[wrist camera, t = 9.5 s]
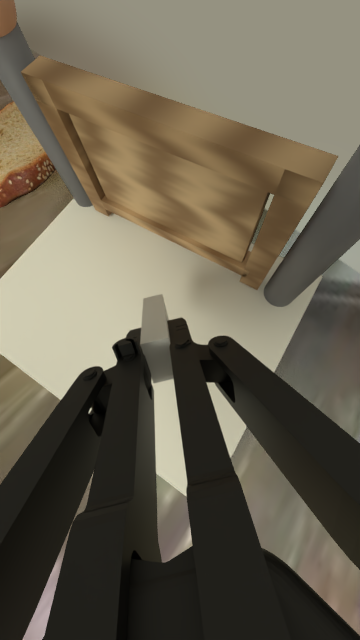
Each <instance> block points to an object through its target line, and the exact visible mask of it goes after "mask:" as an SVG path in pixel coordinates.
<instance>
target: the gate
mask: <svg viewBox="0 0 360 640" xmlns="http://www.w3.org/2000/svg"><path fill="white" fill-rule="evenodd" d="M21 74H22V76H23V78H24V79H25V81H26V83H27V85H28V87H29V89H30V90H31V92H32V94H33V96H34V98H35V100H36V101H37V103H38V105H39V107H40V109H41V111H42V113H43V114H44V116H45V118H46V120H47V122H48V124H49V125H50V127H51V129H52V131H53V133H54V135H55V136H56V138H57V140H58V142H59V144H60V146H61V147H62V149H63V151H64V153H65V155H66V157H67V159H68V160H69V162H70V164H71V166H72V168H73V170H74V171H75V173H76V175H77V177H78V179H79V181H80V182H81V184H82V186H83V188H84V190H85V192H86V193H87V195H88V197H89V199H90V201H91V203H92V205H93V206H94V208H95V210H96V211H98V212H100V213H102V214H104V215H106V216H108V217H109V216H110V215H111V213H114V214H116V215H118V216H120V217H122V218H124V219H126V220H129V221H131V222H133V223H135V224H137V225H139V226H141V227H143V228H145V229H147V230H149V231H151V232H153V233H155V234H157V235H159V236H161V237H163V238H165V239H167V240H169V241H172V242H174V243H176V244H178V245H180V246H182V247H184V248H186V249H188V250H190V251H192V252H194V253H196V254H198V255H200V256H202V257H204V258H206V259H208V260H210V261H212V262H215V263H217V264H219V265H221V266H223V267H225V268H227V269H229V270H231V271H233V272H235V273H237V274H239V275H241V278H240V281H239V282H242V283H244V284H246V285H248V286H250V287H252V288H254V289H256V290H258V288H259V287H260V285H261V283H262V282H263V280H264V279H265V277H266V275H267V274H268V272H269V270H270V269H271V267H272V266H273V264H274V262H275V261H276V259H277V258H278V256H279V254H280V253H281V251H282V249H283V248H284V246H285V245H286V243H287V241H288V240H289V238H290V237H291V235H292V233H293V232H294V230H295V228H296V227H297V225H298V224H299V222H300V220H301V219H302V217H303V216H304V214H305V212H306V211H307V209H308V207H309V206H310V204H311V203H312V201H313V199H314V198H315V196H316V195H317V193H318V191H319V190H320V188H321V187H322V185H323V183H324V181H325V180H326V178H327V176H328V174H329V172H330V171H331V169H332V167H333V165H334V163H335V161H336V160H337V158H338V156H336V155H333V154H330V153H327V152H324V151H321V150H319V149H315V148H312V147H309V146H306V145H304V144H301V143H298V142H295V141H292V140H289V139H286V138H283V137H280V136H277V135H274V134H271V133H268V132H265V131H262V130H259V129H256V128H253V127H250V126H247V125H244V124H241V123H239V122H236V121H232V120H229V119H227V118H224V117H221V116H218V115H215V114H211V113H209V112H206V111H203V110H200V109H196V108H194V107H191V106H188V105H185V104H182V103H179V102H176V101H173V100H170V99H167V98H164V97H161V96H159V95H156V94H153V93H149V92H147V91H144V90H141V89H138V88H135V87H131V86H129V85H126V84H123V83H120V82H117V81H114V80H111V79H108V78H105V77H102V76H99V75H96V74H93V73H90V72H87V71H84V70H81V69H78V68H75V67H73V66H70V65H67V64H63V63H61V62H58V61H55V60H52V59H48V58H46V57H43V56H39V57H38V58H36V59H35V60H34V61H33V62H32V63H30V64H29V65H28V66H27V67H26V68H25V69H23V70H22V71H21ZM270 193H271V194H274V197H273V200H272V202H271V205H270V207H269V210H268V212H267V214H266V217H265V219H264V222H263V224H262V227H261V229H260V232H259V234H258V237H257V239H256V242H255V244H254V246H253V249H252V251H251V252H250V251H248V250H249V247H250V245H251V242H252V239H253V237H254V234H255V232H256V229H257V226H258V224H259V221H260V218H261V216H262V213H263V211H264V208H265V205H266V202H267V200H268V197H269V195H270Z"/></svg>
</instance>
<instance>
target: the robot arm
mask: <svg viewBox="0 0 360 640" xmlns="http://www.w3.org/2000/svg"><path fill="white" fill-rule="evenodd" d="M112 349H113V351H114V354H115V356H116V358H117V363H116V365H115V366H113V367H111V368H109V369H107V370H105V371H103V368H102V367H100V366H94V367H90V368H88V369H86V370H84V371H83V372H82V373H81V374H80V375H79V376H78V377H77V379H76V380H75V381H74V383H73V384H72V385H71V387H70V388H69V390H68V391H67V392H66V394H65V395H64V397H63V398H62V399H61V401H60V402H59V404H58V405H57V406H56V408H55V409H54V411H53V412H52V413H51V415H50V416H49V418H48V419H47V420H46V422H45V423H44V424H43V426H42V427H41V429H40V430H39V431H38V433H37V434H36V436H35V437H34V438H33V440H32V441H31V443H30V444H29V445H28V447H27V448H26V450H25V451H24V452H23V454H22V455H21V457H20V458H19V459H18V461H17V462H16V464H15V465H14V466H13V468H12V469H11V470H10V472H9V473H8V475H7V476H6V477H5V479H4V480H3V482H2V483H1V484H0V640H22V639H23V637H24V635H25V632H26V630H27V628H28V626H29V623H30V621H31V619H32V617H33V615H34V612H35V610H36V608H37V605H38V603H39V600H40V598H41V596H42V593H43V591H44V588H45V586H46V584H47V581H48V579H49V576H50V574H51V572H52V569H53V567H54V565H55V562H56V560H57V557H58V555H59V553H60V550H61V548H62V545H63V543H64V541H65V538H66V536H67V533H68V531H69V529H70V526H71V524H72V521H73V519H74V517H75V514H76V512H77V509H78V507H79V505H80V502H81V500H82V498H83V495H84V493H85V490H86V488H87V486H88V483H89V481H90V478H91V476H92V474H93V471H94V474H93V478H92V483H91V488H90V493H89V498H88V502H87V506H86V509H85V510H84V512H82V513H80V514H79V515H77V516H76V518H75V520H74V521H73V524H72V527H71V530H70V533H69V537H68V541H67V545H66V549H65V554H64V558H63V562H62V566H61V570H60V574H59V578H58V582H57V586H56V590H55V595H54V599H53V603H52V607H51V611H50V615H49V619H48V623H47V627H46V631H45V636H44V637H43V639H42V640H360V636H359V635H358V634H357V633H356V632H355V631H354V630H353V629H352V628H351V627H350V626H349V625H348V624H347V623H346V622H345V621H344V620H343V619H342V618H341V617H340V616H339V615H338V614H337V613H336V612H335V611H334V610H333V609H332V608H331V607H330V606H329V605H328V604H327V603H326V602H325V601H324V600H323V599H322V598H321V597H320V596H319V595H318V594H317V593H316V592H315V591H314V590H313V589H312V588H311V587H310V586H309V585H308V584H307V583H306V582H305V581H304V580H303V579H302V578H301V577H300V576H299V575H298V574H297V573H296V572H295V571H294V570H292V569H291V568H290V567H289V566H288V565H287V564H286V563H285V562H283V561H282V560H281V559H279V558H278V557H277V556H275V555H274V554H272V553H270V552H269V551H267V550H265V549H263V548H261V546H260V543H259V540H258V536H257V533H256V530H255V527H254V524H253V521H252V518H251V515H250V512H249V509H248V506H247V502H246V499H245V496H244V493H243V490H242V487H241V484H240V481H239V479H238V476H237V475H236V473H235V471H234V468H233V465H232V462H231V459H230V456H229V452H228V449H227V446H226V443H225V440H224V437H223V433H222V430H221V427H220V424H219V421H218V418H217V414H216V411H215V408H214V405H213V402H212V399H211V395H210V392H209V389H208V386H207V383H206V382H209V383H215V385H216V387H217V388H218V389H219V391H220V392H221V393H222V395H223V396H224V397H225V398H226V400H227V401H228V402H229V404H230V405H231V406H232V408H233V409H234V410H235V412H236V413H237V414H238V415H239V417H240V418H241V419H242V421H243V422H244V423H245V425H246V426H247V427H248V429H249V430H250V431H251V432H252V434H253V435H254V436H255V438H256V439H257V440H258V442H259V443H260V444H261V445H262V447H263V448H264V449H265V451H266V452H267V453H268V455H269V456H270V457H271V459H272V460H273V461H274V462H275V464H276V465H277V466H278V468H279V469H280V470H281V472H282V473H283V474H284V476H285V477H286V478H287V479H288V481H289V482H290V483H291V485H292V486H293V487H294V489H295V490H296V491H297V493H298V494H299V495H300V496H301V498H302V499H303V500H304V502H305V503H306V504H307V506H308V507H309V508H310V510H311V511H312V512H313V513H314V515H315V516H316V517H317V519H318V520H319V521H320V523H321V524H322V525H323V527H324V528H325V529H326V530H327V532H328V533H329V534H330V536H331V537H332V538H333V539H334V541H335V542H336V543H337V544H338V546H339V547H340V548H341V549H342V550H343V552H344V553H345V554H346V555H347V556H348V558H349V559H350V560H351V561H352V562H353V563H354V564H355V565H356V566H357V567H358V568H359V569H360V443H359V442H357V441H356V440H355V439H354V438H353V437H351V436H350V435H349V434H348V433H347V432H345V431H344V430H343V429H342V428H340V427H339V426H338V425H337V424H336V423H334V422H333V421H332V420H331V419H330V418H328V417H327V416H326V415H325V414H323V413H322V412H321V411H320V410H319V409H317V408H316V407H315V406H314V405H313V404H311V403H310V402H309V401H308V400H307V399H305V398H304V397H303V396H302V395H300V394H299V393H298V392H297V391H296V390H294V389H293V388H292V387H291V386H290V385H288V384H287V383H286V382H285V381H283V380H282V379H281V378H280V377H279V376H277V375H276V374H275V373H274V372H273V371H271V370H270V369H269V368H268V367H266V366H265V365H264V364H263V363H262V362H260V361H259V360H258V359H257V358H256V357H254V356H253V355H252V354H251V353H250V352H248V351H247V350H246V349H245V348H243V347H242V346H241V345H240V344H239V343H237V342H236V341H235V340H234V339H233V338H231V337H229V336H217V337H214V338H212V339H211V340H210V341H209V342H208V345H201V344H197V343H195V342H193V340H192V338H191V335H190V332H189V329H188V325H187V322H186V320H185V319H183V318H182V317H181V318H177V319H173V320H169V318H168V314H167V310H166V306H165V302H164V298H163V294H160V295H155V296H151V297H147V298H143V310H142V325H141V328H137V329H133V330H130V331H129V332H128V334H127V335H126V338H124V339H121V340H119V341H117V342H116V343H115V344H114V345H113V346H112ZM151 378H152V380H153V383H158V382H162V381H166V380H171V379H174V386H175V393H176V401H177V408H178V416H179V423H180V431H181V438H182V446H183V453H184V461H185V468H186V476H187V487H186V494H187V503H188V511H189V519H190V528H191V536H192V544H193V546H192V547H190V548H189V549H187V550H185V551H184V552H182V553H181V554H179V555H178V556H176V557H175V558H173V559H171V560H170V561H168V562H166V563H162V560H161V554H160V549H159V544H158V532H157V493H156V454H155V415H154V389H153V386H152V382H151ZM90 408H92V410H91V412H90V413H89V410H90Z"/></svg>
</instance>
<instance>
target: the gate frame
mask: <svg viewBox="0 0 360 640" xmlns="http://www.w3.org/2000/svg"><path fill="white" fill-rule="evenodd" d="M16 16H17V15H16V8H15V3H14V0H0V80H1V81H2V83H3V85H4V86H5V88H6V89H7V91H8V93H9V94H10V96H11V98H12V99H13V101H14V102H15V104H16V106H17V107H18V109H19V110H20V112H21V114H22V115H23V117H24V118H25V120H26V122H27V123H28V125H29V126H30V128H31V130H32V131H33V133H34V135H35V136H36V138H37V139H38V141H39V143H40V144H41V146H42V147H43V149H44V151H45V152H46V154H47V155H48V157H49V159H50V160H51V162H52V164H53V165H54V167H55V168H56V170H57V172H58V173H59V175H60V176H61V178H62V180H63V181H64V183H65V184H66V186H67V188H68V189H69V191H70V193H71V194H72V196H73V197H74V199H73V200H72V201H71V202H70V203H69V204H68V205H67V206H66V207H65V209H64V210H63V211H62V212H61V213H60V214H59V215H58V216H57V217H56V218H55V220H54V221H53V222H52V223H51V224H50V225H49V226H48V227H47V228H46V229H45V231H44V232H43V233H42V234H41V235H40V236H39V237H38V238H37V239H36V240H35V241H34V243H33V244H32V245H31V246H30V247H29V248H28V249H27V250H26V251H25V252H24V254H23V255H22V256H21V257H20V258H19V259H18V260H17V261H16V262H15V263H14V265H13V266H12V267H11V268H10V269H9V270H8V271H7V272H6V273H5V274H4V275H3V277H2V278H1V279H0V354H2V355H3V356H4V357H6V358H7V359H8V360H9V361H11V362H12V363H13V364H15V365H16V366H17V367H19V368H20V369H21V370H22V371H24V372H25V373H26V374H28V375H29V376H30V377H32V378H33V379H34V380H35V381H37V382H38V383H39V384H41V385H42V386H43V387H45V388H46V389H47V390H48V391H50V392H51V393H52V394H54V395H55V396H56V397H58V398H59V399H60V400H61V399H62V398H63V397H64V395H65V394H66V392H67V391H68V390H69V388H70V387H71V385H72V384H73V383H74V381H75V380H76V379H77V377H78V376H79V375H80V374H81V373H82V372H83V371H84V370H86V369H88V368H90V367H94V366H100V367H102V368H103V371H105V370H107V369H109V368H111V367H113V366H115V365H116V363H117V358H116V356H115V354H114V351H113V349H112V346H113V345H114V344H115V343H116V342H117V341H119V340H121V339H124V338H126V335H127V334H128V332H129V331H130V330H133V329H137V328H141V325H142V310H143V298H147V297H151V296H155V295H160V294H163V298H164V302H165V306H166V310H167V314H168V318H169V320H173V319H177V318H181V317H182V318H183V319H185V320H186V322H187V325H188V329H189V332H190V335H191V338H192V340H193V342H195V343H197V344H201V345H208V342H209V341H210V340H211V339H212V338H214V337H217V336H229V337H231V338H233V339H234V340H235V341H236V342H237V343H239V344H240V345H241V346H242V347H243V348H245V349H246V350H247V351H248V352H250V353H251V354H252V355H253V356H254V357H256V358H257V359H258V360H259V361H260V362H262V363H263V364H264V365H265V366H266V367H268V368H269V369H270V370H271V371H273V372H275V370H276V368H277V366H278V364H279V362H280V360H281V358H282V356H283V354H284V352H285V350H286V348H287V346H288V344H289V342H290V340H291V338H292V336H293V334H294V332H295V330H296V328H297V326H298V324H299V322H300V320H301V318H302V316H303V314H304V312H305V310H306V308H307V306H308V305H309V303H310V301H311V299H312V297H313V295H314V293H315V291H316V289H317V287H318V285H319V283H320V281H321V279H322V277H323V276H322V275H321V274H322V273H324V272H325V271H326V270H327V269H328V268H329V267H330V266H331V265H332V264H333V263H334V262H335V261H337V260H338V259H339V258H340V257H341V256H342V255H343V254H344V253H345V252H346V251H347V250H348V249H350V247H352V246H353V245H354V244H355V243H356V242H357V241H358V240H359V239H360V145H359V147H358V148H357V150H356V152H355V153H354V154H353V156H352V157H351V159H350V160H349V162H348V163H347V165H346V166H345V168H344V169H343V171H342V172H341V174H340V175H339V177H338V178H337V180H336V181H335V183H334V184H333V186H332V187H331V189H330V190H329V192H328V193H327V195H326V196H325V198H324V199H323V201H322V202H321V204H320V205H319V207H318V208H317V210H316V211H315V213H314V214H313V216H312V217H311V219H310V220H309V222H308V223H307V225H306V226H305V228H304V229H303V230H302V232H301V233H300V235H299V236H298V238H297V239H296V241H295V242H294V244H293V245H292V247H291V248H290V250H289V251H288V253H287V254H286V256H285V257H284V258H283V257H281V256H278V258H277V259H276V261H275V262H274V264H273V266H272V267H271V269H270V270H269V272H268V274H267V275H266V277H265V279H264V280H263V282H262V283H261V285H260V287H259V288H258V290H256V289H254V288H252V287H250V286H248V285H246V284H244V283H242V282H239V281H240V278H241V275H239V274H237V273H235V272H233V271H231V270H229V269H227V268H225V267H223V266H221V265H219V264H217V263H215V262H212V261H210V260H208V259H206V258H204V257H202V256H200V255H198V254H196V253H194V252H192V251H190V250H188V249H186V248H184V247H182V246H180V245H178V244H176V243H174V242H172V241H169V240H167V239H165V238H163V237H161V236H159V235H157V234H155V233H153V232H151V231H149V230H147V229H145V228H143V227H141V226H139V225H137V224H135V223H133V222H131V221H129V220H126V219H124V218H122V217H120V216H118V215H116V214H114V213H111V215H110V216H109V217H108V216H106V215H104V214H102V213H100V212H98V211H96V210H95V208H94V206H93V205H92V203H91V201H90V199H89V197H88V195H87V193H86V192H85V190H84V188H83V186H82V184H81V182H80V181H79V179H78V177H77V175H76V173H75V171H74V170H73V168H72V166H71V164H70V162H69V160H68V159H67V157H66V155H65V153H64V151H63V149H62V147H61V146H60V144H59V142H58V140H57V138H56V136H55V135H54V133H53V131H52V129H51V127H50V125H49V124H48V122H47V120H46V118H45V116H44V114H43V113H42V111H41V109H40V107H39V105H38V103H37V101H36V100H35V98H34V96H33V94H32V92H31V90H30V89H29V87H28V85H27V83H26V81H25V79H24V78H23V76H22V74H21V71H22V70H23V69H25V68H26V67H27V66H28V65H29V64H30V63H32V62H33V61H34V60H35V58H34V56H33V54H32V52H31V50H30V48H29V46H28V44H27V42H26V40H25V38H24V36H23V34H22V31H21V29H20V27H19V25H18V23H17V17H16ZM253 246H254V244H253V243H251V245H250V247H249V250H248V251H250V252H251V251H252V249H253ZM151 382H152V386H153V389H154V415H155V454H156V474H158V475H159V476H160V477H162V478H163V479H164V480H166V481H167V482H168V483H169V484H171V485H172V486H173V487H175V488H176V489H177V490H179V491H180V492H181V493H182V494H184V495H185V496H186V497H187V494H186V487H187V476H186V468H185V461H184V453H183V446H182V438H181V431H180V423H179V416H178V408H177V401H176V393H175V386H174V379H171V380H166V381H162V382H158V383H153V380H152V378H151ZM206 383H207V386H208V389H209V392H210V395H211V399H212V402H213V405H214V408H215V411H216V414H217V418H218V421H219V424H220V427H221V430H222V433H223V437H224V440H225V443H226V446H227V449H228V452H229V456H230V459H231V457H232V455H233V453H234V451H235V449H236V447H237V445H238V443H239V441H240V439H241V437H242V435H243V433H244V431H245V429H246V427H247V426H246V425H245V423H244V422H243V421H242V419H241V418H240V417H239V415H238V414H237V413H236V412H235V410H234V409H233V408H232V406H231V405H230V404H229V402H228V401H227V400H226V398H225V397H224V396H223V395H222V393H221V392H220V391H219V389H218V388H217V387H216V385H215V383H209V382H206ZM91 410H92V408H90V410H89V413H90V412H91Z"/></svg>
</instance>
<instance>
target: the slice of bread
mask: <svg viewBox="0 0 360 640" xmlns="http://www.w3.org/2000/svg"><path fill="white" fill-rule="evenodd" d="M55 169H56V168H55V167H54V165H53V164H52V162H51V160H50V159H49V157H48V155H47V154H46V152H45V151H44V149H43V147H42V146H41V144H40V143H39V141H38V139H37V138H36V136H35V135H34V133H33V131H32V130H31V128H30V126H29V125H28V123H27V122H26V120H25V118H24V117H23V115H22V114H21V112H20V110H19V109H18V107H17V106H16V104H15V102H14V101H13V102H12V103H10V104H8V105H6V106H5V108H3V109H2V110H0V207H4V206H6V205H7V204H8V203H9V202H11V201H13V200H14V199H16V198H18V197H20V196H23V195H26V194H28V193H30V192H31V191H33V190H35V189H36V188H38V187H39V186H40V185H41V184H42V183H44V182H45V181H46V180H47V178H48V177H49V176H50V175H51V174H52V173H53V172H54V170H55Z"/></svg>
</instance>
